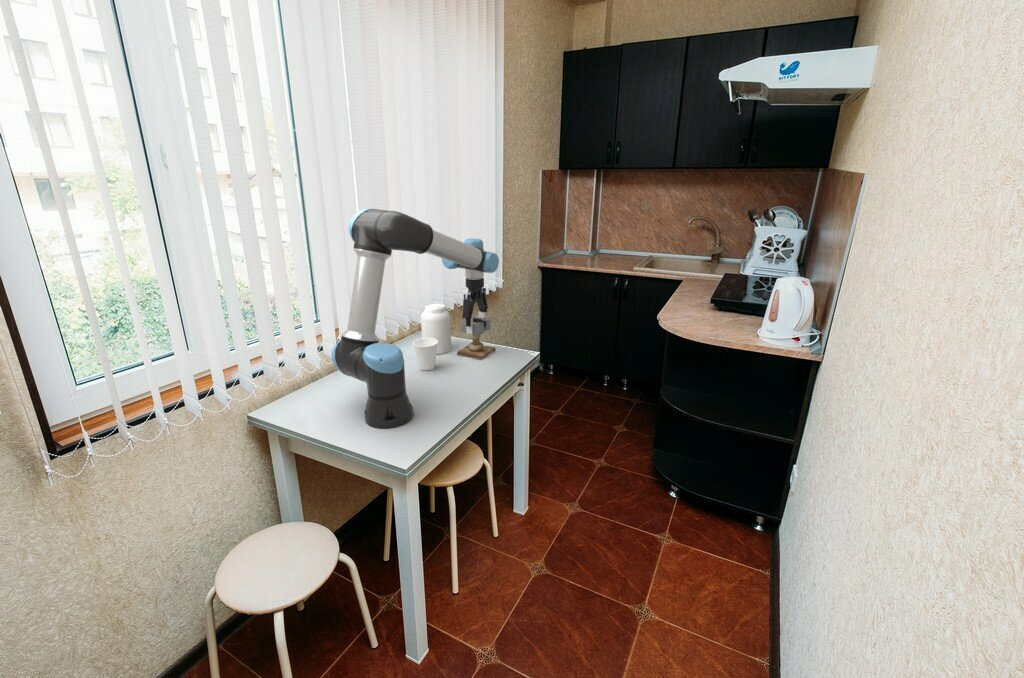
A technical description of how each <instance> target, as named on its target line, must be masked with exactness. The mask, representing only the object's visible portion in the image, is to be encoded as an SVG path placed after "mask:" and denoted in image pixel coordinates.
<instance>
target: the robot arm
mask: <svg viewBox="0 0 1024 678" xmlns="http://www.w3.org/2000/svg"><path fill="white" fill-rule="evenodd" d="M348 234H349V236H350V238H351V240H352V241H353V251H354V252H355V253H356V255H357V258H356V264H355V274H354V280H353V286H352V293H351V295H352V296H351V302H350V308H349V309H350V310H349V315H348V322H347V324H348V325H347V329H346V330H345V331H344V332H342V333H341V336H340V337H341V338H340V339H339V340H338V341H337V342H336V343H335V344H334V345H333V348H332V349H331V362H332V364H333V366H334V367H335V368H336V370H338V372H341V373H342V374H343V375H345V376H347V377H351V378H353V379H355V380H359V381H361V382H364V383H365V384H366V388H367V389H366V390H367V396H368V397H367V400H366V405H365V409H364V412H363V414H364V421H365V423H366V424H367V425H368V426H370V427H372V428H377V429H390V428H392V429H393V428H396V427H399V426H402V425H405V424H406V423H408V422H409V421H410V420H411V419H412V418H413V417H414V408H413V405H412V403H411V401H410V398H409V396H408V393H407V389H406V375H405V373H406V372H405V371H406V370H405V359H404V355H403V351H402V349H401V348H400V347H399V346H397V345H394V344H392V343H384V342H379V340H380V338H379V336H377V334H376V327H377V320H378V313H379V308H380V302H381V301H380V300H381V294H382V293H381V292H382V286H383V280H384V273H385V267H386V261H387V260H388V259H390V257H392V252H393V251H400V252H401V251H403V252H410V253H415V254H417V255H422V254H428V255H432V256H434V257H437V258H440V259H441V262H442V265H443V266H444V267H445V268H447V269H448V270H453V269H454V270H456V269H463V270H464V269H465V270H464V271H465V272H464V273H465V274H464V277H465V288H467V293H464V294H463V305H462V306H463V307H462V319H464V320H465V319H466V332H467V333H466V334H470V335H472V334H473V319H472V318H471V317H472V316H473V313H474V309H475V304H477V307H478V310H479V311H478V313H477V314H478V315H477V317H481V318H486V315H485V314H486V313H487V312H488V308H489V306H488V301H487V299H488V298H487V288H486V287H485V279H484V274H485V273H488V274H492V273H495V272H496V271H497V270H498V268H499V264H500V258H499V256H498V254H497V253H496V252H491V251H486V250H485V248H484V242H483V240H482V239H480V238H467V239H464V242H463V241H462V240H459V239H456V238H453V237H451V236H448V235H446V234H443V233H441V232H438V231H436V230H434V229H433V227H432V226H431V225H430V224H427V223H426V222H423V221H421V220H419V219H417V218H415V217H412V216H410V215H408V214H406V213H404V212H400V211H396V210H386V209H376V208H365V209H361V210H358V211H357V212H356V213H354V214H353V216H352V217H351V219H350V220H349V224H348Z"/></svg>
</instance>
